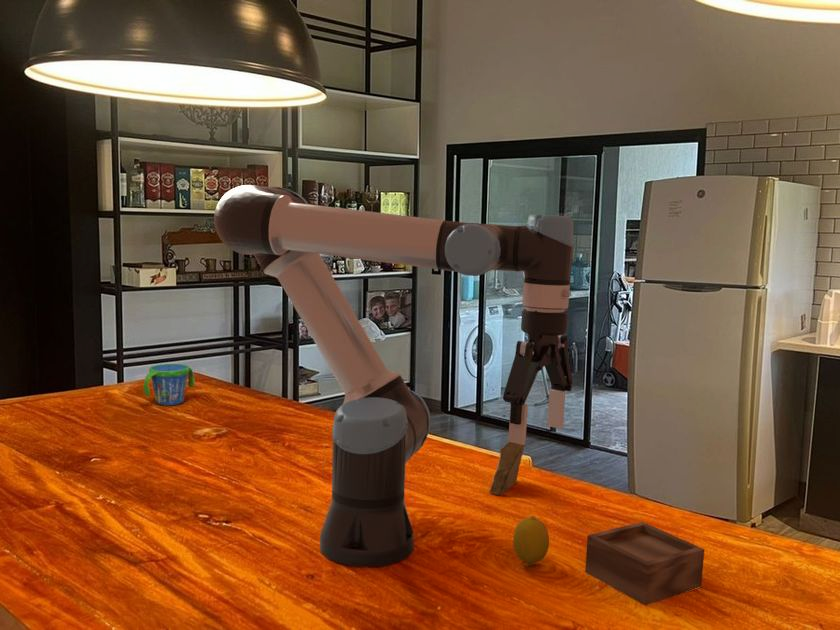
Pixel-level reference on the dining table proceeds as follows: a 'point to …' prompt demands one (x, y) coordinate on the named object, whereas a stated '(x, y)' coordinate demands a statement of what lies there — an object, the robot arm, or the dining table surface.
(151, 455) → the dining table surface
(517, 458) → the rock
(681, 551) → the walnut block
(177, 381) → the snack cup
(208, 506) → the dining table surface
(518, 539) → the lemon
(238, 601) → the dining table surface
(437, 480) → the dining table surface
